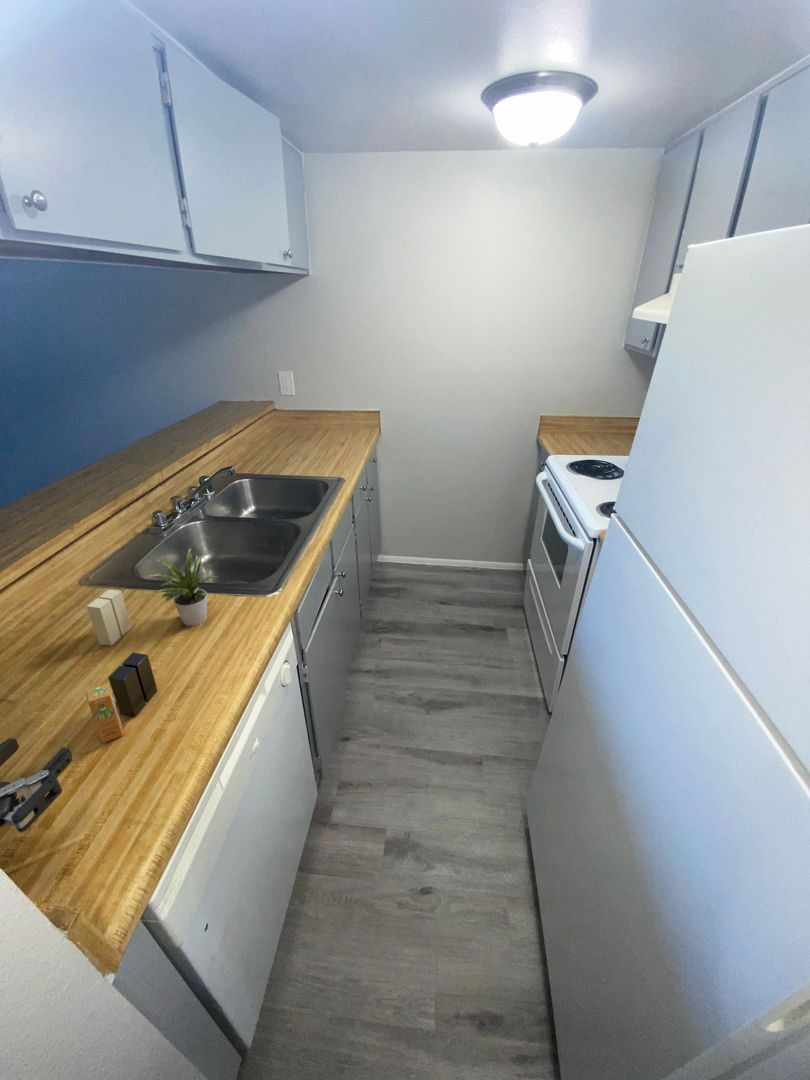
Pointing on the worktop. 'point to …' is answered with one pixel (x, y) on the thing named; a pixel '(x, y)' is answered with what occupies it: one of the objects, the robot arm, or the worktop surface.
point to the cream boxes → (109, 617)
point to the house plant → (186, 592)
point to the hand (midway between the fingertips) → (41, 746)
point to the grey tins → (133, 684)
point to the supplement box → (104, 712)
